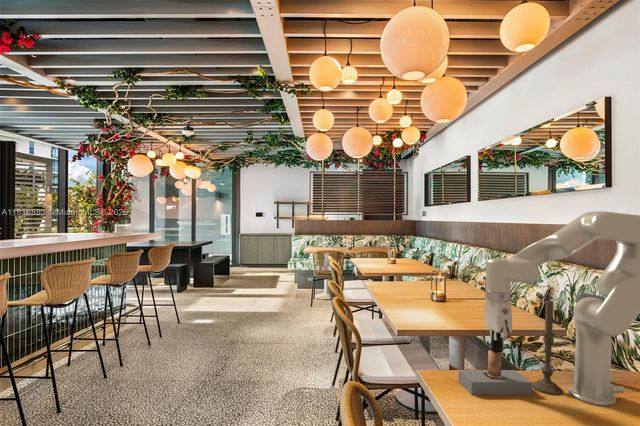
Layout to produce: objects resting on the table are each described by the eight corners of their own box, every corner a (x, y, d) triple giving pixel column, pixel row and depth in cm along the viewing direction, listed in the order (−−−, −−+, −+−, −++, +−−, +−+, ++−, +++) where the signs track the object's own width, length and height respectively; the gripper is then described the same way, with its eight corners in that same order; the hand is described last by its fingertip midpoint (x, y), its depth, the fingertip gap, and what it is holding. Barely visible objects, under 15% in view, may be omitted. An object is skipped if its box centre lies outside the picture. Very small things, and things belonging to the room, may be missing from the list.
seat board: (514, 381, 139) (514, 370, 139) (531, 394, 129) (532, 382, 129) (458, 381, 137) (458, 369, 137) (471, 394, 127) (471, 382, 127)
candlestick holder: (550, 396, 128) (553, 302, 128) (525, 385, 136) (528, 296, 136) (569, 392, 132) (572, 301, 132) (543, 381, 140) (546, 295, 140)
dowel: (496, 385, 135) (497, 349, 135) (503, 390, 131) (504, 354, 131) (484, 385, 135) (485, 349, 135) (490, 390, 131) (491, 354, 131)
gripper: (521, 300, 126) (520, 359, 126) (497, 291, 141) (496, 344, 141) (498, 300, 125) (496, 359, 125) (476, 291, 140) (475, 344, 140)
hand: (496, 351), depth 133 cm, fingers closed
